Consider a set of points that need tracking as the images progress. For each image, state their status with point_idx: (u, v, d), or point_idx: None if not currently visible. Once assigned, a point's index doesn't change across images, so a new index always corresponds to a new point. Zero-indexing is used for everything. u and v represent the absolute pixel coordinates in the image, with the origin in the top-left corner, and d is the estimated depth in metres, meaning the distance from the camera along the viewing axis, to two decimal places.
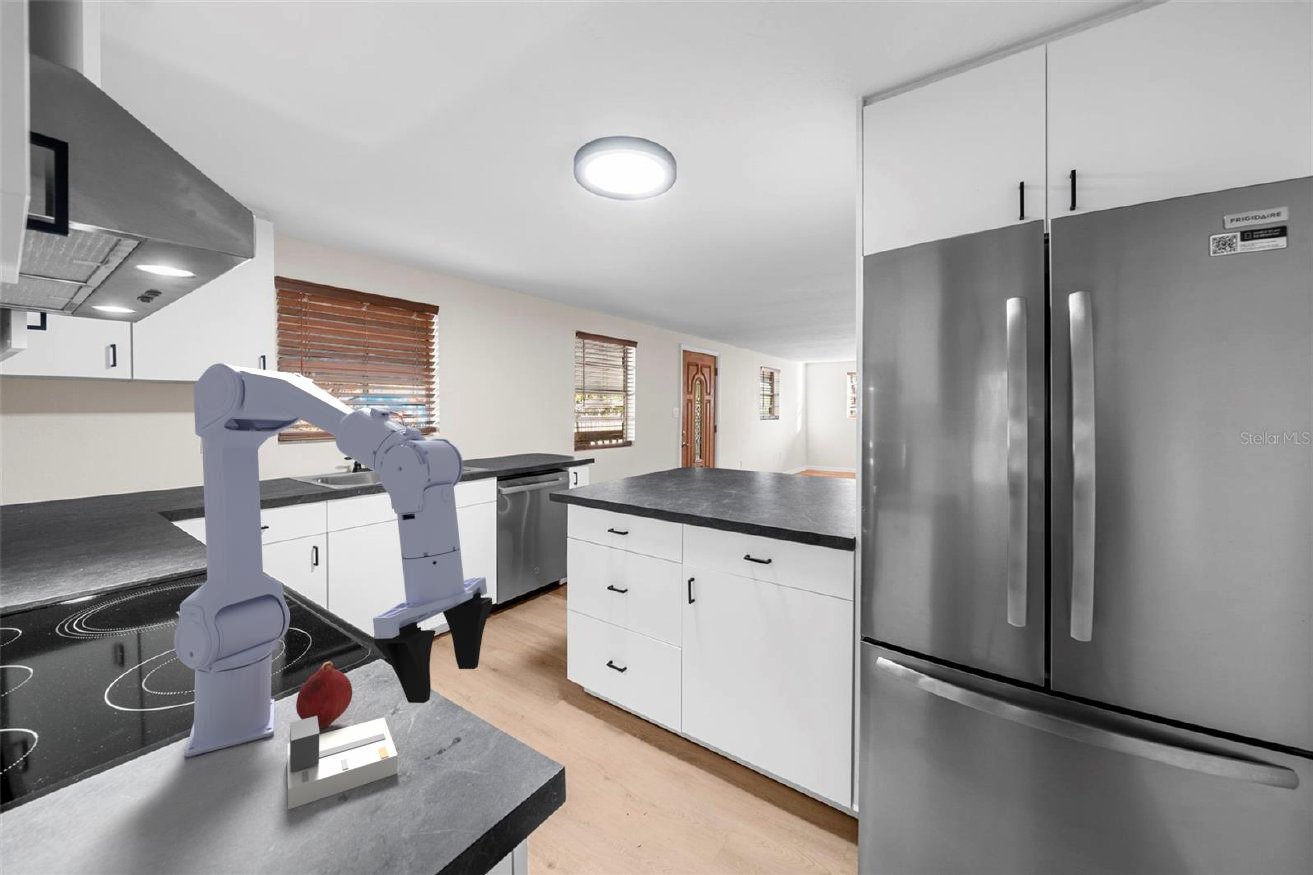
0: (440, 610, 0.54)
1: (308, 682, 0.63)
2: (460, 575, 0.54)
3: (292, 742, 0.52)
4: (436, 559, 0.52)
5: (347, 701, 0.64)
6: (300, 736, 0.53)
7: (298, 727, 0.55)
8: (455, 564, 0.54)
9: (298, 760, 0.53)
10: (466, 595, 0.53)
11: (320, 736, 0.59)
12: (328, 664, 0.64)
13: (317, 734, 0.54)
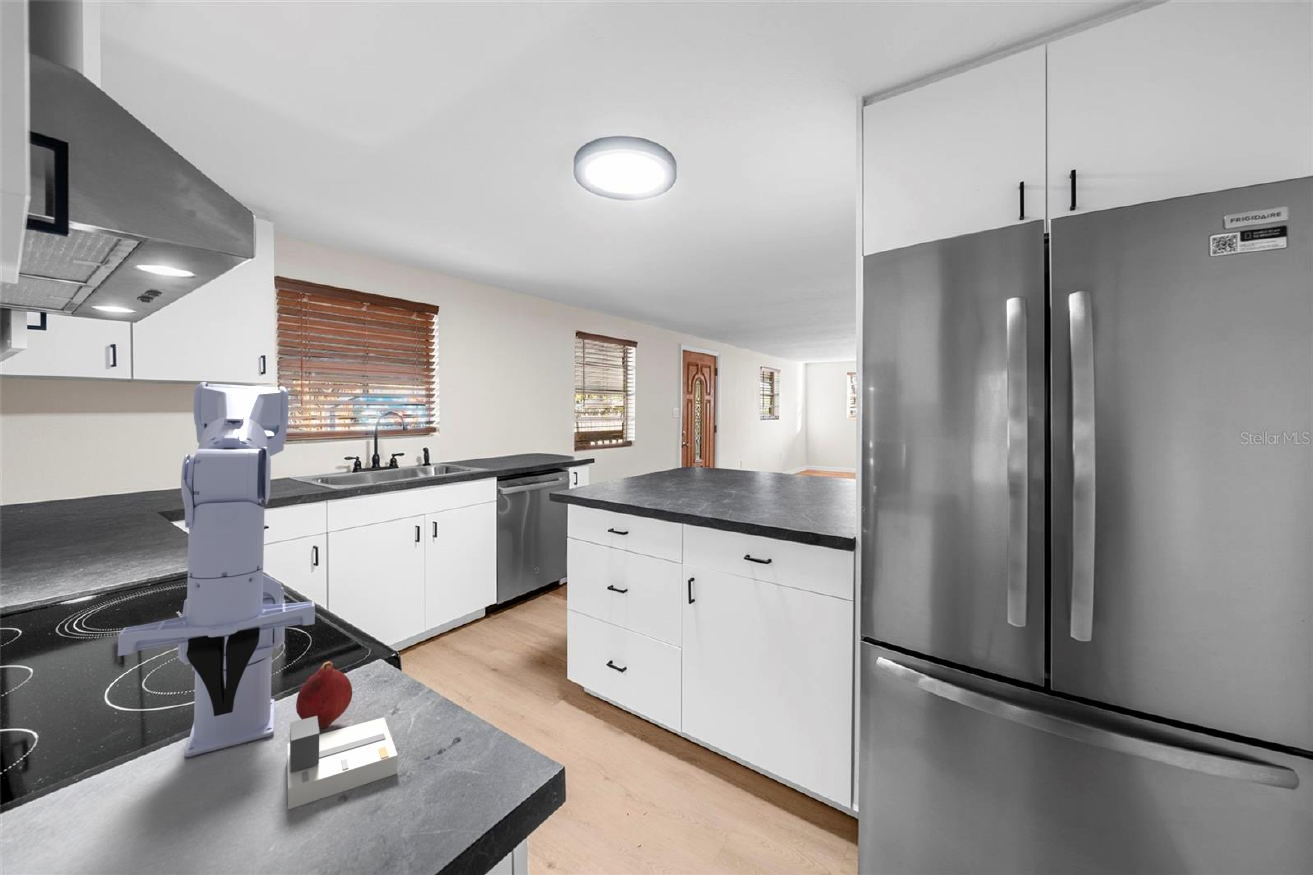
0: None
1: (308, 682, 0.63)
2: (233, 604, 0.49)
3: (292, 742, 0.52)
4: (198, 583, 0.48)
5: (347, 701, 0.64)
6: (300, 736, 0.53)
7: (298, 727, 0.55)
8: (222, 592, 0.48)
9: (298, 760, 0.53)
10: (218, 630, 0.47)
11: (320, 736, 0.59)
12: (328, 664, 0.64)
13: (317, 734, 0.54)
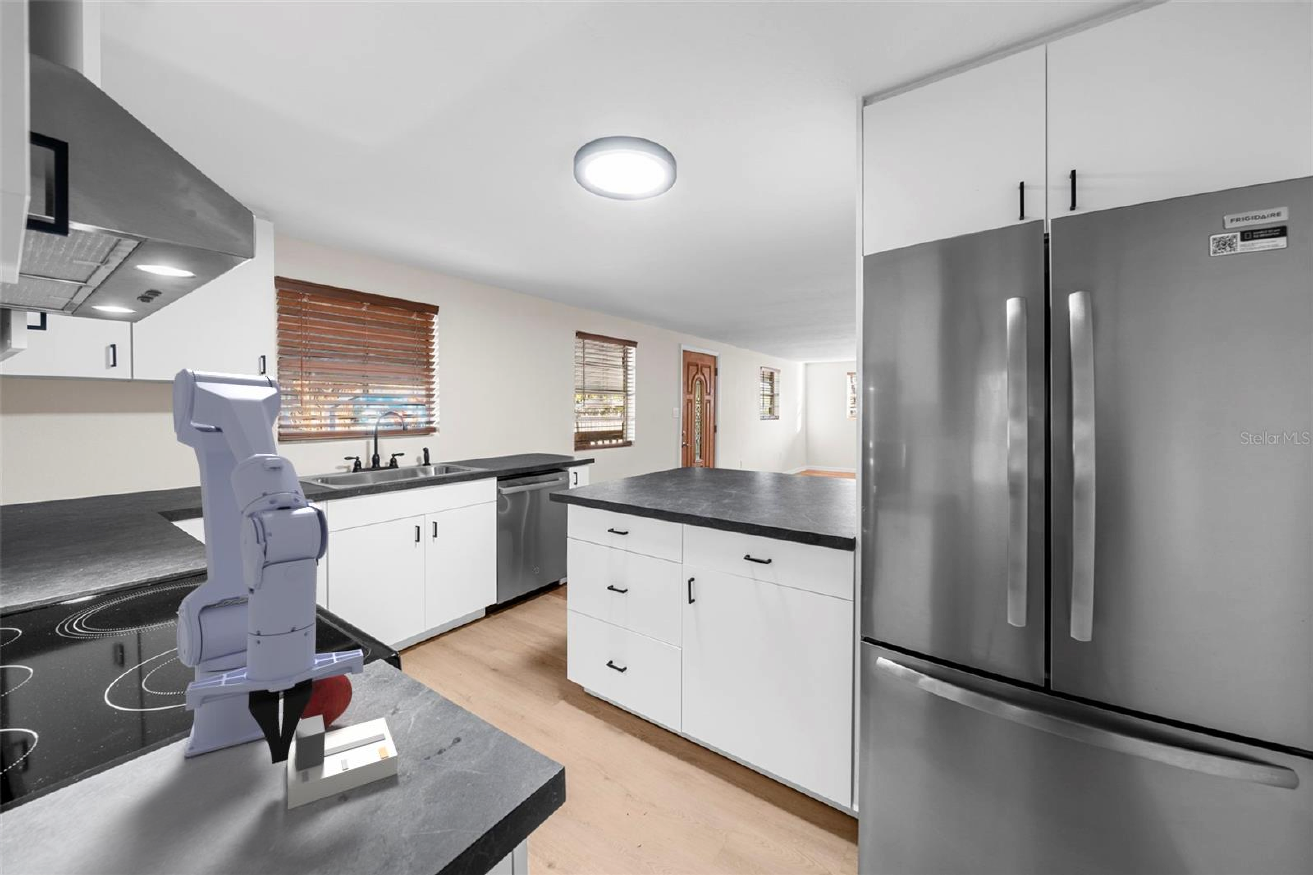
0: None
1: None
2: (290, 659, 0.52)
3: (298, 740, 0.53)
4: (259, 639, 0.51)
5: (347, 701, 0.64)
6: (305, 735, 0.53)
7: (303, 725, 0.55)
8: (281, 648, 0.51)
9: (304, 758, 0.53)
10: (278, 685, 0.50)
11: None
12: None
13: (322, 733, 0.54)
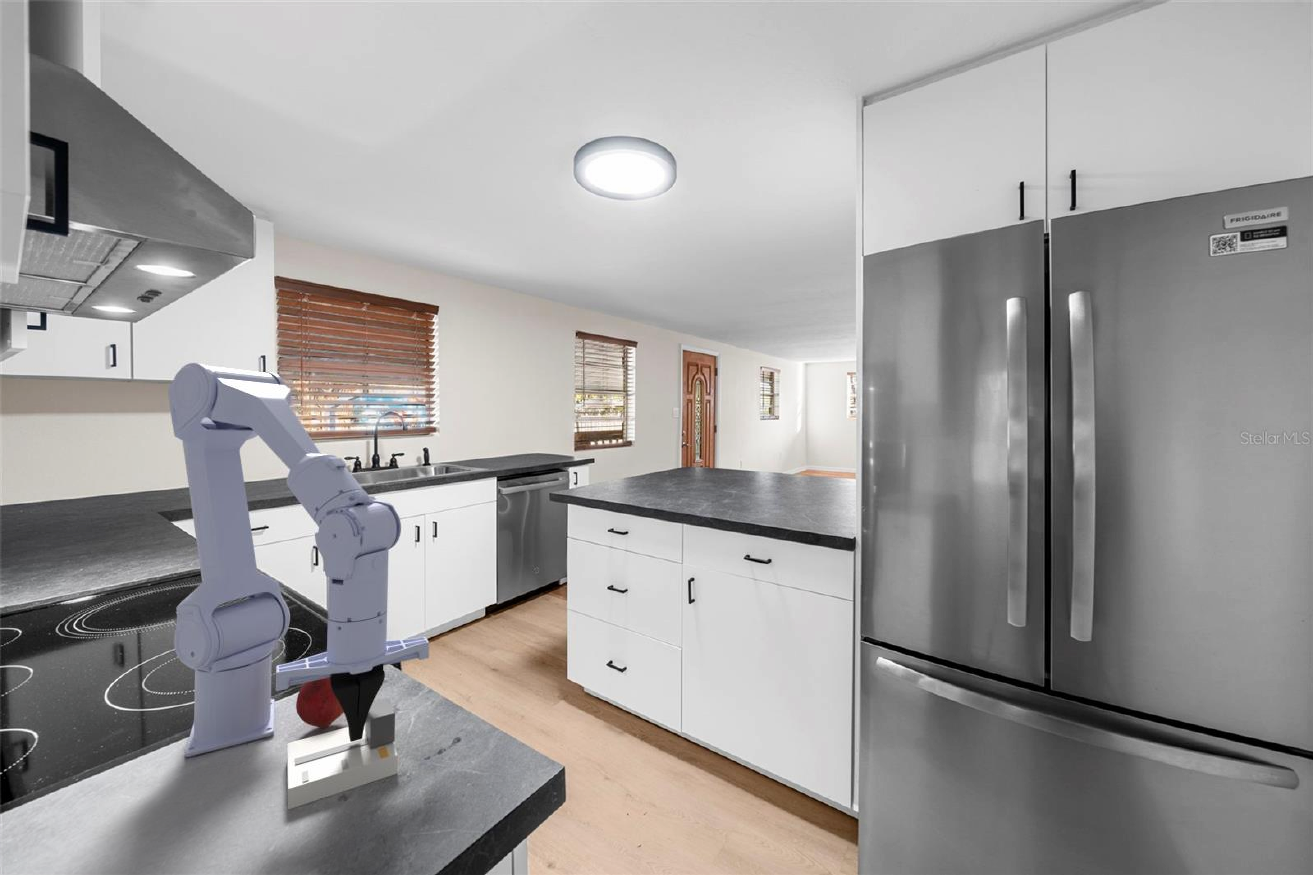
0: None
1: (308, 682, 0.63)
2: (368, 644, 0.56)
3: (371, 721, 0.57)
4: (340, 626, 0.55)
5: None
6: (378, 716, 0.57)
7: (374, 707, 0.59)
8: (360, 633, 0.55)
9: (376, 737, 0.57)
10: (358, 668, 0.54)
11: (320, 736, 0.59)
12: None
13: (393, 714, 0.58)
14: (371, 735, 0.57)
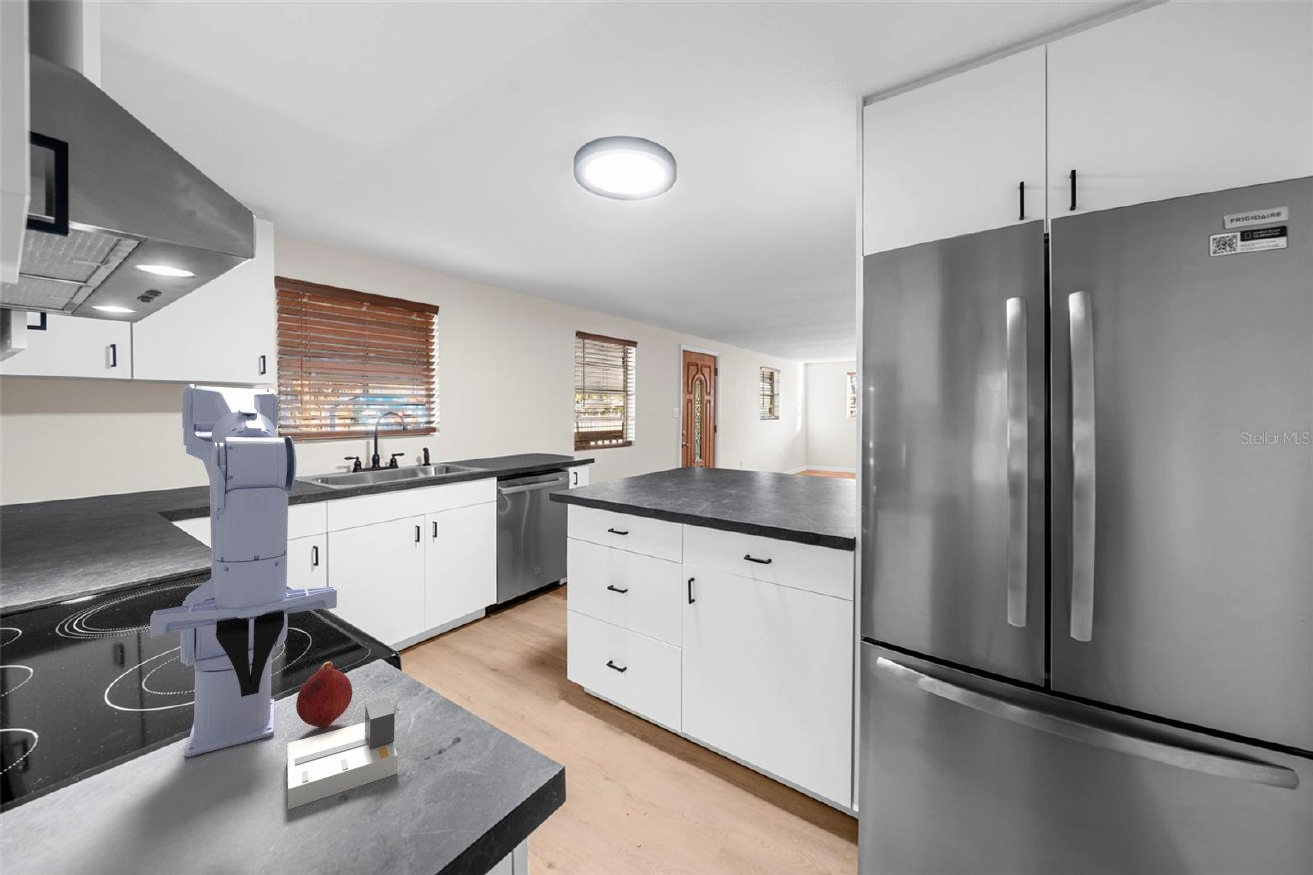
0: (252, 616, 0.52)
1: (308, 682, 0.63)
2: (260, 587, 0.51)
3: (371, 721, 0.57)
4: (227, 566, 0.49)
5: (347, 701, 0.64)
6: (377, 716, 0.57)
7: (373, 707, 0.59)
8: (250, 575, 0.50)
9: (376, 737, 0.57)
10: (247, 612, 0.49)
11: (320, 736, 0.59)
12: (328, 664, 0.64)
13: (392, 714, 0.58)
14: (371, 735, 0.57)
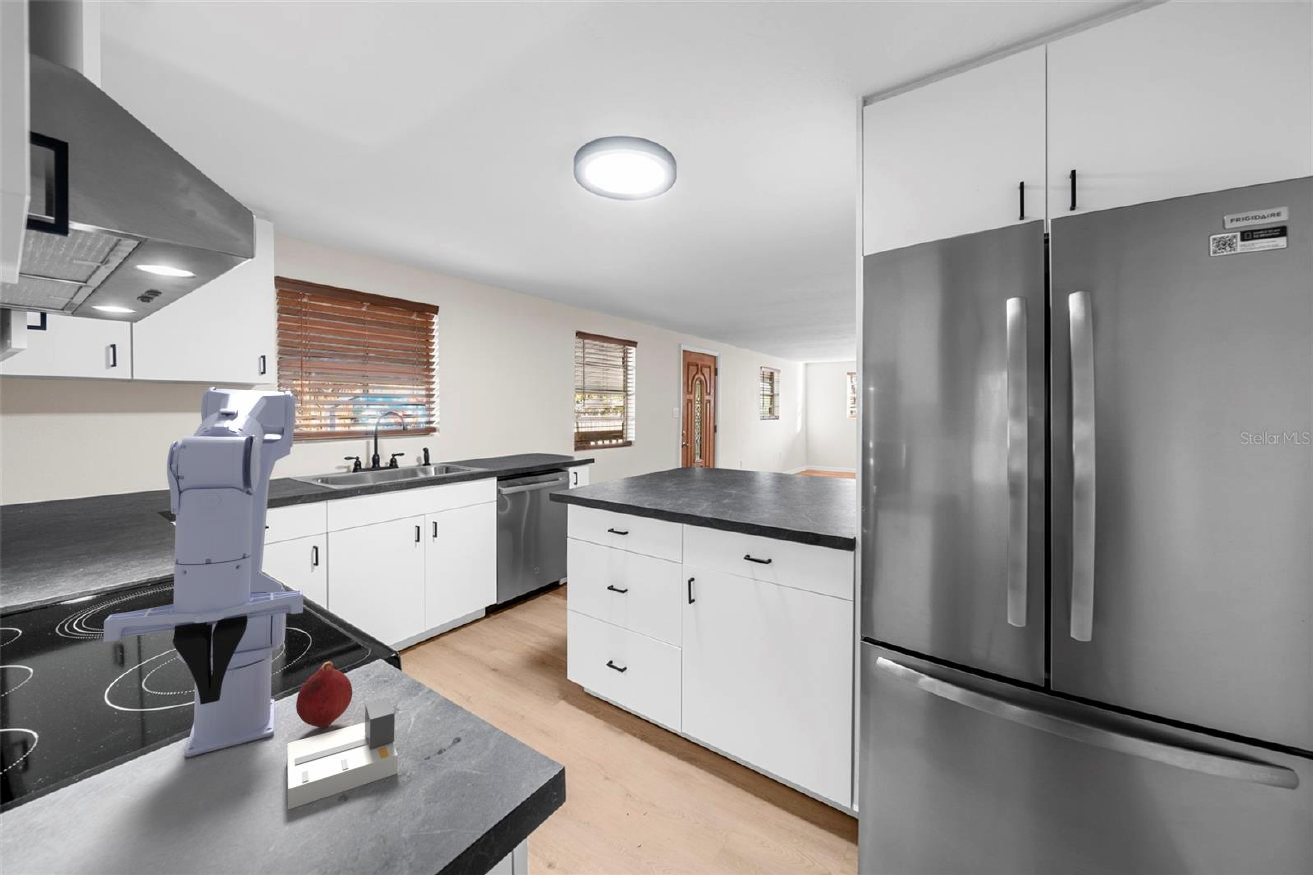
0: (213, 621, 0.50)
1: (308, 682, 0.63)
2: (220, 591, 0.49)
3: (371, 721, 0.57)
4: (185, 569, 0.48)
5: (347, 701, 0.64)
6: (377, 716, 0.57)
7: (373, 707, 0.59)
8: (209, 578, 0.48)
9: (376, 737, 0.57)
10: (204, 616, 0.47)
11: (320, 736, 0.59)
12: (328, 664, 0.64)
13: (392, 714, 0.58)
14: (371, 735, 0.57)
